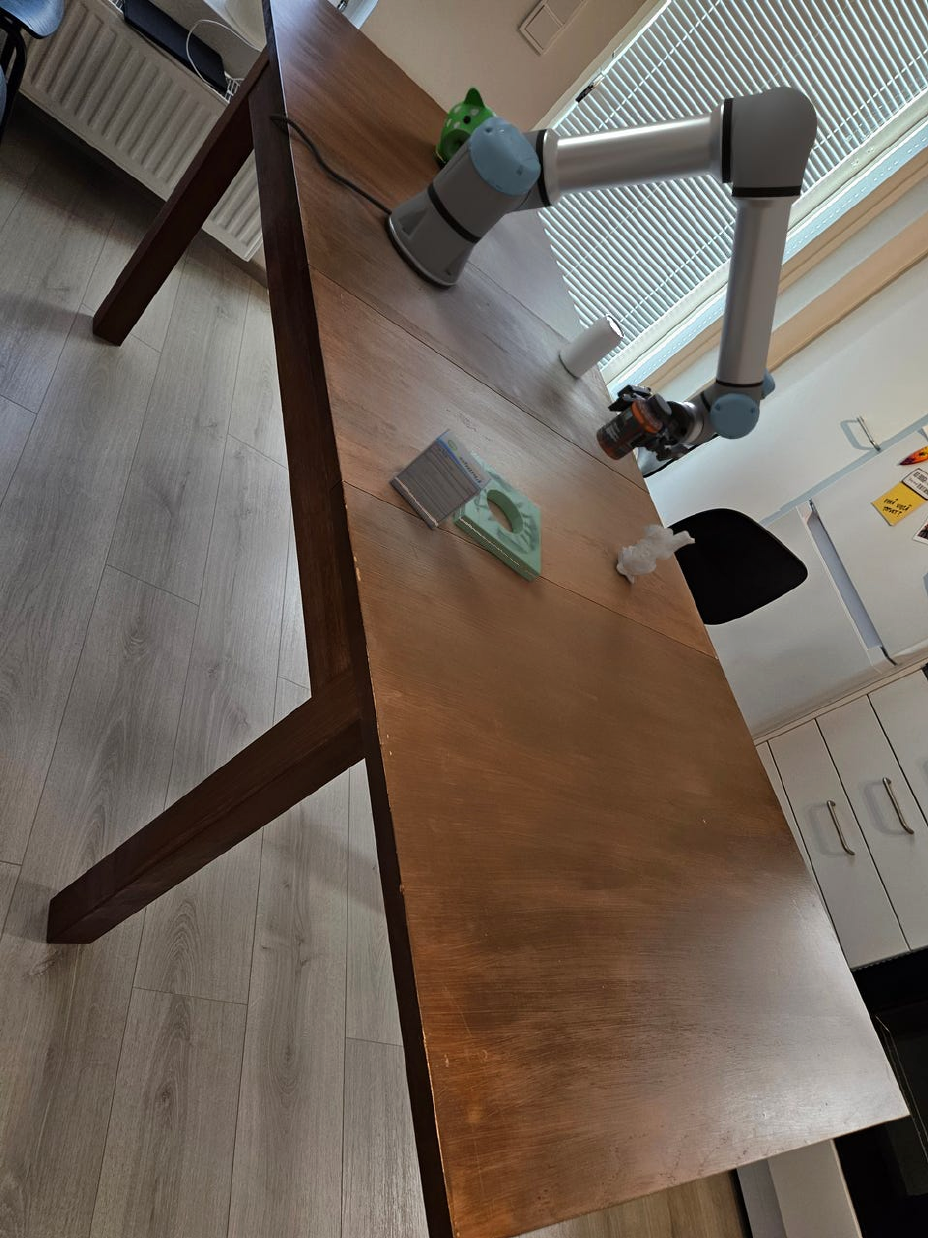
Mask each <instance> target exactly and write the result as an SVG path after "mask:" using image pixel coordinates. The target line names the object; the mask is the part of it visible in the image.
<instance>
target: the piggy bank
mask: <svg viewBox="0 0 928 1238" xmlns="http://www.w3.org/2000/svg"><path fill="white" fill-rule="evenodd" d="M464 97H465V98H464V100H463V101H460V102H458V103H456V104H455V105H454V106H452V108H451V109H450V110H449V111H448V114H447V116H446V118H445V120H444V122H443V126H442V129H441V132H440V139H439V143H438V144H437V146H436V147H437V151H438V153H439V155H440V156H441V157H442V159H443V161H444V162H446V163H448V162H449V161H450V160H451V159H452V157H453V156H454V155H455V154H456V153H457V152H458V150H459V149H460V148H461V147H462V146H463V144H464V143H465V142H466V141H467V140H468V139H469V137H470V136H471V134H472V133H473V131H474V130H475V129H476V128H477V127H478V126H480V125H481V124H482V123H483V122H484V121H485V120H486V119H488V118H491V117H498V115H497V114H496V112H495V111H493V110H492V109H491V108H490V107H489V106H487V105H486V104H485V103H484V100H483V97H482V95H481V92H480V90H479V89H478V88H477V87H475V86H471V87H470V88H469V89H468V90H467V92H466V95H465V96H464ZM433 157H434V158H435V160H436V161H437V162H438V163H439V164H440V165H446V163H444V162H443V161H442V160H441V159H440V158H439V157H438V156H437V154H436V152H435V151H434V154H433Z"/></svg>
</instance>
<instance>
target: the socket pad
mask: <svg viewBox="0 0 928 1238" xmlns="http://www.w3.org/2000/svg"><path fill="white" fill-rule="evenodd" d="M469 452H470V453H471V454H472V455H473V456H474V457H475V459H476V460H477V461H478V462H479V463H480V465H481V466H482V467H483V468H484V469H485V471H486V472H487V473H488V474H489V475H490V477H491V481H490V482H489V483H488V484H487V485H486V487H485V488H484V489H483V490H482V491H481V492H480V493H479V494H478V495H476V496H475V497H474V498H473V499H471V500H470V501H469V502H468V503H466V504H465V505H464V506H463V507H462V508H461V515H460V509H459V510H458V511H456V512H455V513H454V519H453V522H454V525H456V526H457V527H458V528H459V529H461V530H462V531H464V533H466V534H467V535H468V536H470V537H471V538H473V539H474V540H475V541H476V542H477V543H479V544H480V545H482V546H483V547H484V548H485V549H487V550H488V551H489V552H491V553H492V554H493V555H494V556H496V557H497V558H498V559H499V560H501V561H502V562H503V563H505V564H506V565H507V566H509V567H510V568H511V569H513V571H515V572H516V573H517V574H519V575H520V576H522V577H523V578H524V579H526V580H527V581H528V582H530V583H531V582H532V581H534V580H535V579H536V578H534V577H533V576H532V575H530V574H529V573H528V572H526V571H525V570H524V569H523V568H525V569H526V570H527V571H529V572H530V573H531V574H533V575H534V576H535V577H537V578H539V577H540V576H541V575H542V555H541V554H542V545H541V544H542V543H541V542H542V541H541V539H542V538H541V537H542V535H541V534H542V533H541V532H542V531H541V529H542V527H541V525H542V524H541V508H540V507H538V506H537V505H536V504H535V503H534V502H532V501H531V500H530V498H528V497H527V496H525V494H523V493H522V492H521V491H519V489H517V488H516V487H515V486H514V485H513V484H511V483H510V482H509V481H508V480H506V479H505V478H504V477H503V476H502V475H501V474H500V473H498V472H497V471H496V470H495V469H493V467H491V466H490V465H489V464H488V463H487V462H485V461H484V460H483V459H482V458H480V457H479V456H478V455H477V454H476V453H475V452H474V451H472V450H469ZM488 500H489V501H492V502H493V503H494V504H496V505H497V506H498V507H499V508H500V509H501V510H502V511H503V512H504V514H505V516H506V518H507V519H508V520H509V522H510V525H511V528H512V531H509V530H507V529H506V528H505V527H504V526H503V525H501V524H500V523H499V522H498V520H497V519H496V518H495V516H494V514H493V512H492V510H491V509H490V506H489V504H488ZM459 516H461V519H463V520H464V521H465V522H467V523H468V524H470V525H471V526H472V528H474V529H475V530H476V531H478V532H479V533H480V534H481V535H482V536H484V537H485V538H486V539H487V540H488V541H490V542H491V543H492V544H493V545H495V546H496V547H497V548H499V549H500V550H502V552H503V553H505V554H506V555H507V556H508V557H507V556H506V555H505V554H503V553H502V552H501V551H500V550H498V549H497V548H496V547H495V546H493V545H492V544H491V543H489V542H488V541H487V540H486V539H484V538H483V537H482V536H480V535H479V534H478V533H477V532H475V531H474V530H473V529H471V528H470V527H469V526H468V525H466V524H465V523H464V522H463V521H461V520H460V519H459ZM510 558H511V559H512V560H513V561H512V560H511V559H510ZM514 561H515V562H516V563H518V564H519V565H520V566H522V567H523V568H521V567H520V566H519V565H518V564H516V563H515V562H514Z"/></svg>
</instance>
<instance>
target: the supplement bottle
mask: <svg viewBox="0 0 928 1238" xmlns="http://www.w3.org/2000/svg"><path fill="white" fill-rule="evenodd" d="M666 401H667V400H665V398H664V397H663V396H662V395H661V394H659V393H655V394H652V396H650V398H649V399H647V400H645V399H638V400H637V401H635V402H634V403H633V404H632V405H630V406H629V407H628V408H626V409H625V410H624V411H622V412H619V413H618V414H617V415H616V416H615V417H613V418H612V419H611V420H609V421H608V422H607V423H605V424H604V425H603V426H602V427H601V428H599V429H598V430H597V431H596V435H595V436H596V441H597V443H598V445H599V447H600V449H602V451H603V452H604V454H605V455H606V456H607V457H609V458H610V459H611V460H613V461H620V460H621V459H623V458H624V457H626V456H627V455H629V454H630V453H631V452H633V451H634V450H635V449H636V448H637V447H635V448H632V446H631V444H630V443H631V442H633V441H634V440H635V439H637V438H638V437H639V436H641V435H642V434H644V433H657V432H658V431H659V430H660V429H661V427H662V421H663V419H666V418H667V417H668V416H669V415H671V409H670V407H669V405H668V404H667V402H666Z"/></svg>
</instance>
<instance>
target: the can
mask: <svg viewBox="0 0 928 1238" xmlns="http://www.w3.org/2000/svg"><path fill="white" fill-rule="evenodd" d="M625 336H626V335H625V332H624V330H623V328H622V326H621V325H620V324H619V322H618V321H617V320H616V319H615V318H614V317H613V316H612V315H611V314H608V313H607V314H606V315H605V316H602V317H599V318H597V319H596V320H595V321H594V322H593V323H592V324H590V326H588V327H587V328H586V329H585V330H584V331H583V332H581V333H580V334H579V335H578V336H577V337H576V338H574V339H573V340H572V341H571V342H570V343H569V344H568V345H567V346H566V347H564V348H563V349H562V350H561V351H560V354H559V358H560V361H561V363H562V365H563V367H564V368H565V369H566V371H568V373H569V374H570V375H571V376H573V377H574V378H581V377H582V376H583V375H585V374H586V373H587V372H588V371H590V370H591V369H592V368H593V367H594V366H596V365H597V364H598V363H600V362H601V361H602V360H603V359H604V358H605V357H606V356H607V355H609V354H610V353H612V351H614V350H615V349H616V348H617V347H618V346H620V344H621V343H622V341H623V339H624V338H626V337H625Z"/></svg>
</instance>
